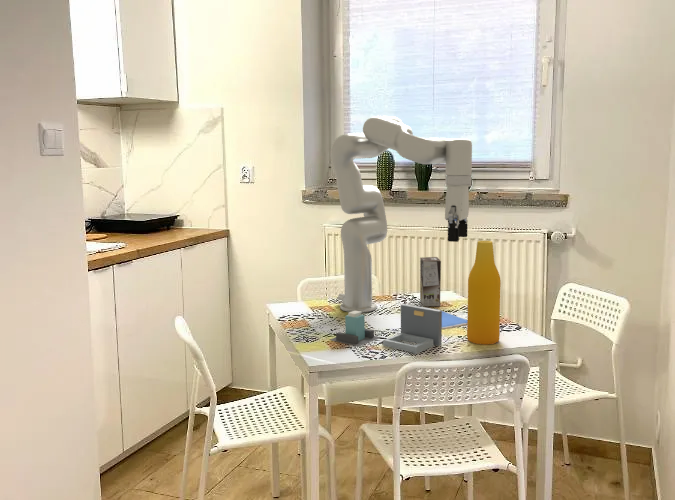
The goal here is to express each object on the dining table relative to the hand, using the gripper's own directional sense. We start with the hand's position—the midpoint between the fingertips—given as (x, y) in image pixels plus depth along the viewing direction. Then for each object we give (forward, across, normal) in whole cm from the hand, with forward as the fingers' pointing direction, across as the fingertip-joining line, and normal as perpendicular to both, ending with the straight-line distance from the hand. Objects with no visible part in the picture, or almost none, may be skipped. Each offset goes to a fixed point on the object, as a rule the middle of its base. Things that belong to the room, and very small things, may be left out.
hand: (457, 239), depth 202 cm
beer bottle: (+29, +6, +9) cm, 31 cm away
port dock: (+28, +18, -8) cm, 35 cm away
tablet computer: (+29, -12, -9) cm, 33 cm away
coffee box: (+29, -32, -18) cm, 46 cm away
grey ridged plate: (+28, +19, -25) cm, 43 cm away
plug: (+28, +19, -25) cm, 42 cm away
